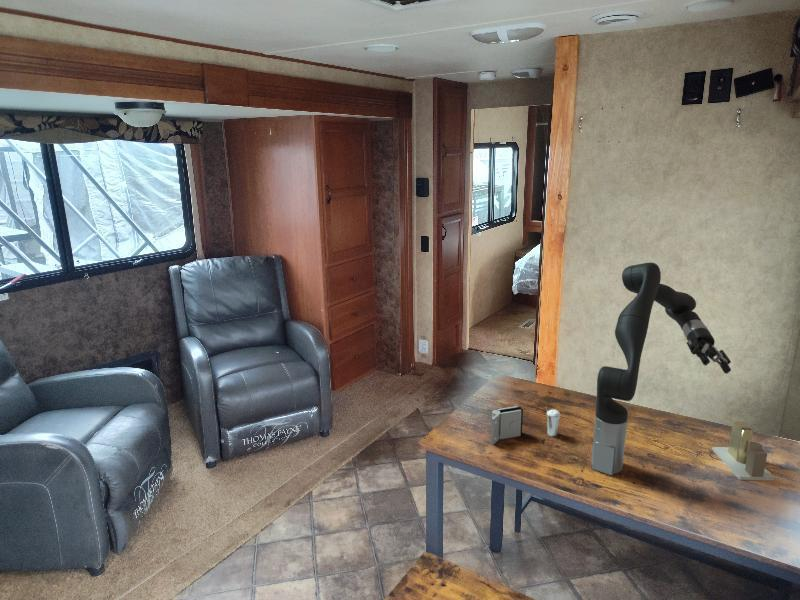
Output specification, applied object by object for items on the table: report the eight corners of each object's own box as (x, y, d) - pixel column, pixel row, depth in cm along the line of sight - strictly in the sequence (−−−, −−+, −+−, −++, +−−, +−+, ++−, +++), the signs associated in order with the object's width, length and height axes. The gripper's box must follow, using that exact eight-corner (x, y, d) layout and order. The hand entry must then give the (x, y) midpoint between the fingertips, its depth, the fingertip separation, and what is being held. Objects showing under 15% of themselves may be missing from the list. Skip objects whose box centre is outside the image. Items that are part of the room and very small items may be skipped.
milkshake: (546, 428, 192) (548, 403, 189) (560, 433, 188) (562, 408, 186) (541, 434, 188) (542, 408, 186) (555, 438, 185) (557, 413, 182)
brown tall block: (727, 452, 173) (732, 421, 170) (738, 452, 173) (743, 421, 170) (739, 463, 167) (744, 432, 164) (750, 463, 166) (756, 432, 163)
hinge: (492, 445, 182) (492, 419, 179) (482, 438, 187) (483, 412, 184) (523, 435, 188) (524, 409, 185) (514, 428, 193) (514, 403, 190)
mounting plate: (712, 449, 176) (716, 422, 173) (743, 450, 176) (748, 422, 173) (739, 479, 160) (744, 450, 158) (774, 480, 160) (780, 451, 157)
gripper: (688, 321, 183) (708, 353, 170) (721, 334, 186) (743, 367, 173) (674, 336, 187) (692, 368, 174) (706, 348, 190) (726, 381, 177)
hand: (717, 367), depth 174 cm, fingers open, 8 cm apart
